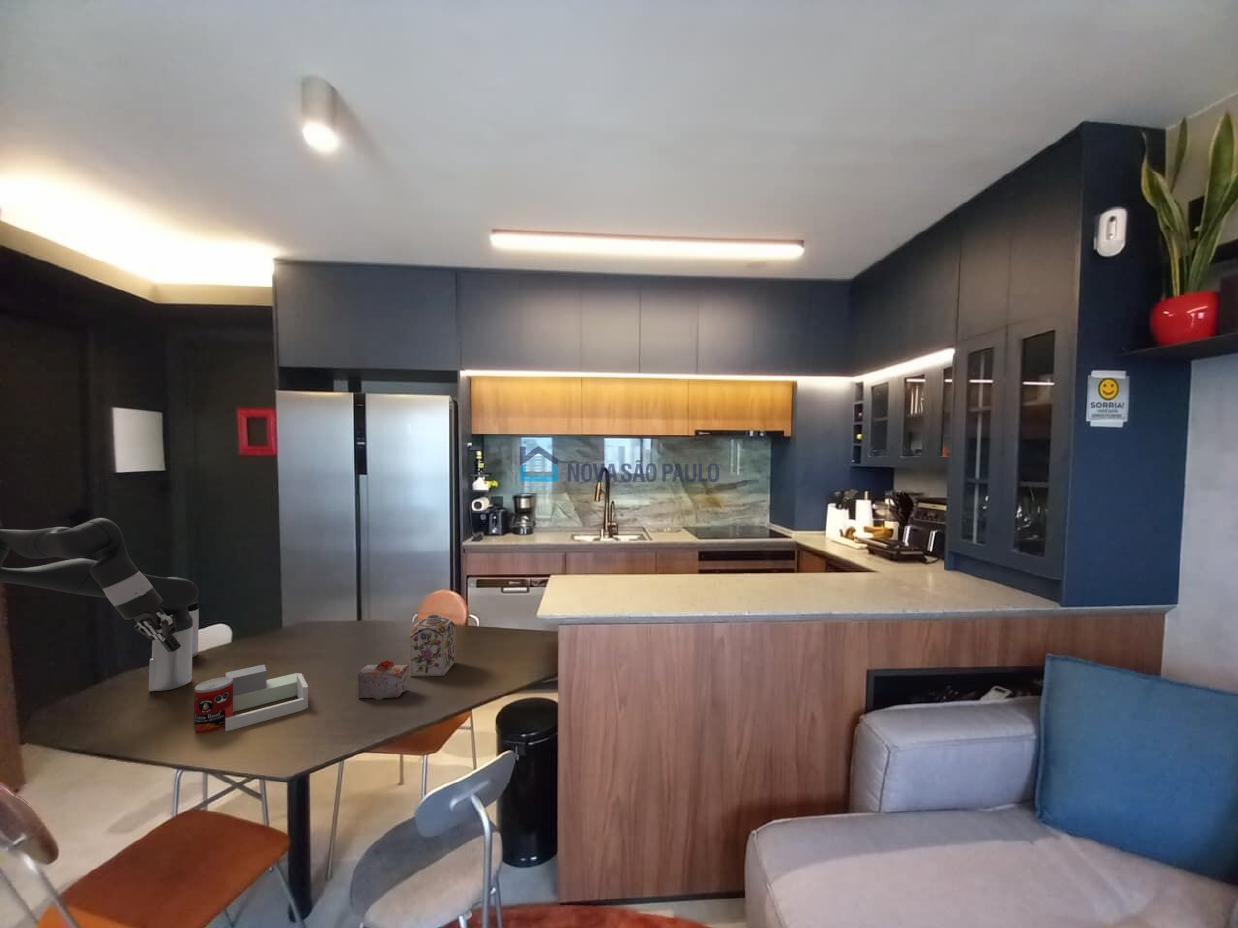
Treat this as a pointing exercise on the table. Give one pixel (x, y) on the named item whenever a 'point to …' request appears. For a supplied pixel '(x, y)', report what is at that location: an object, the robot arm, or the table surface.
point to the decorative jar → (432, 646)
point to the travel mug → (194, 625)
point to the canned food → (213, 704)
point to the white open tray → (264, 695)
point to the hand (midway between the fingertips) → (175, 649)
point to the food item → (382, 680)
